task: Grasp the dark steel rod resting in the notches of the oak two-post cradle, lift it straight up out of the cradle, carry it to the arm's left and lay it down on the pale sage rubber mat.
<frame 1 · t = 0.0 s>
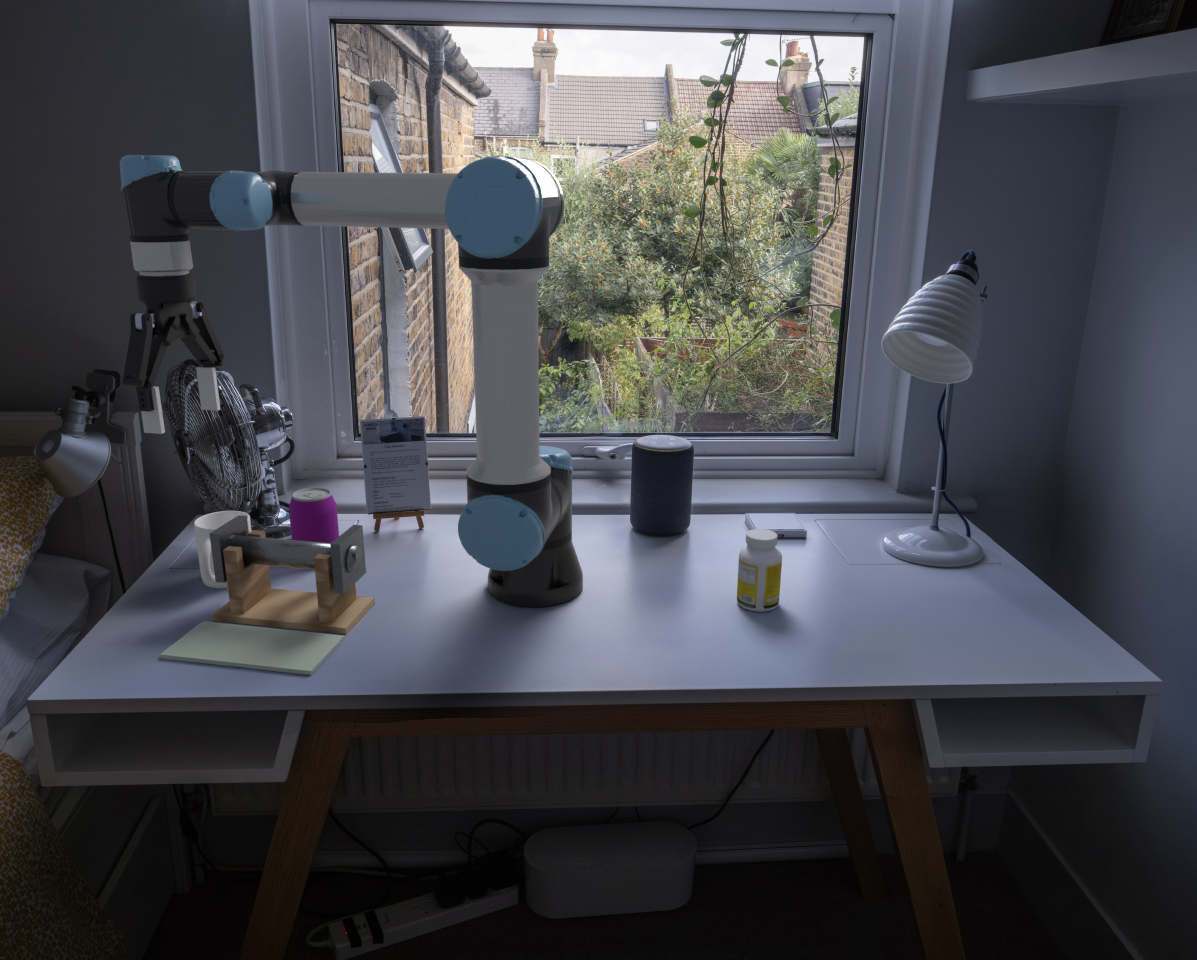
hand: (184, 420, 135), 28 cm above the table, fingers open, 13 cm apart
beverage can: (317, 561, 158), on the table
cradle: (295, 612, 139), on the table
rod: (291, 577, 137), point 6 cm above the table, touching cradle
mug: (224, 585, 148), on the table
mat: (254, 648, 128), on the table
pill bottle: (757, 605, 143), on the table
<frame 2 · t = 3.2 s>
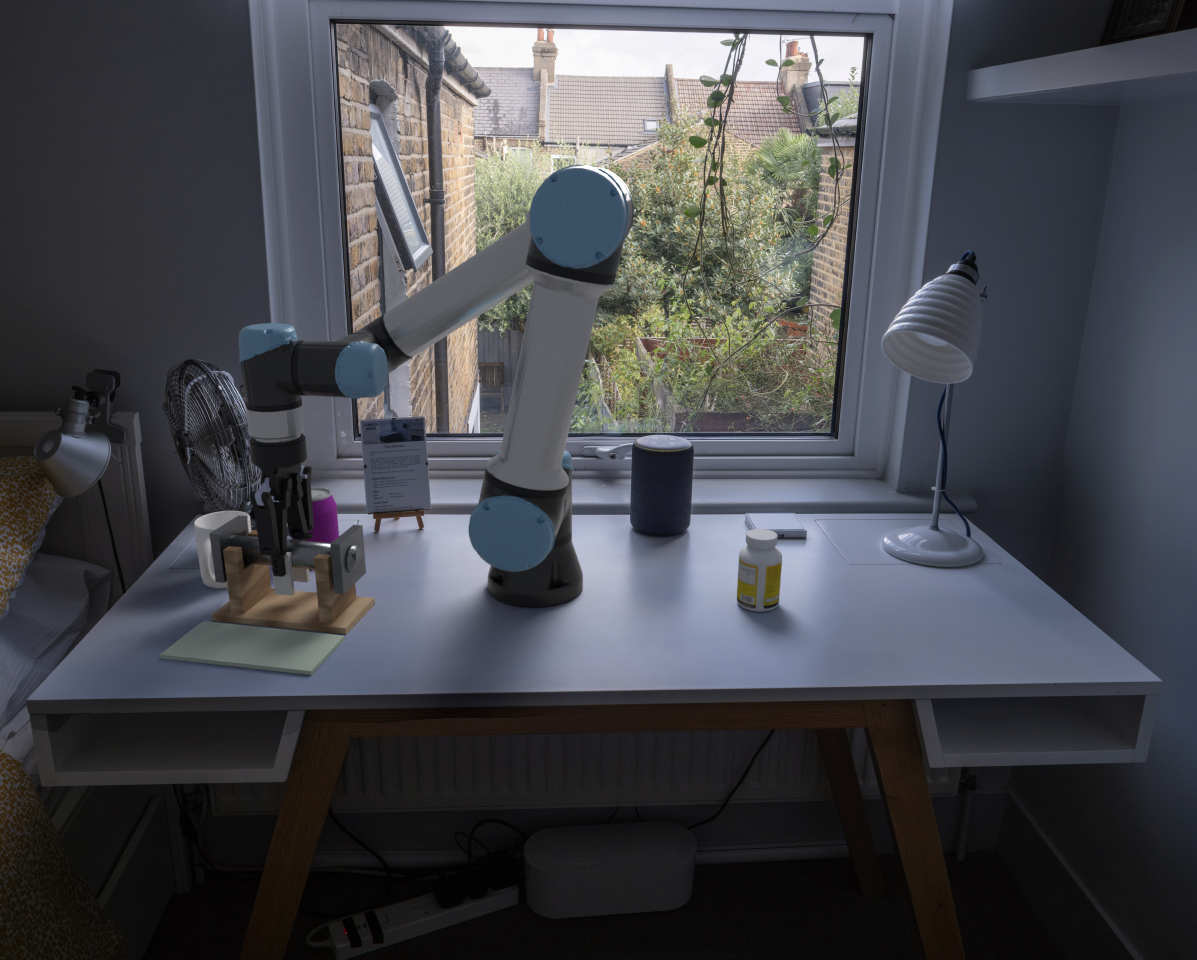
hand: (292, 586, 138), 4 cm above the table, fingers closed on rod, 4 cm apart
rod: (291, 577, 137), point 6 cm above the table, touching cradle, gripper
everything else where it was.
when the fingers open (1 cm above the table, at t = 8.2 s): rod drops 2 cm, resting on mat.
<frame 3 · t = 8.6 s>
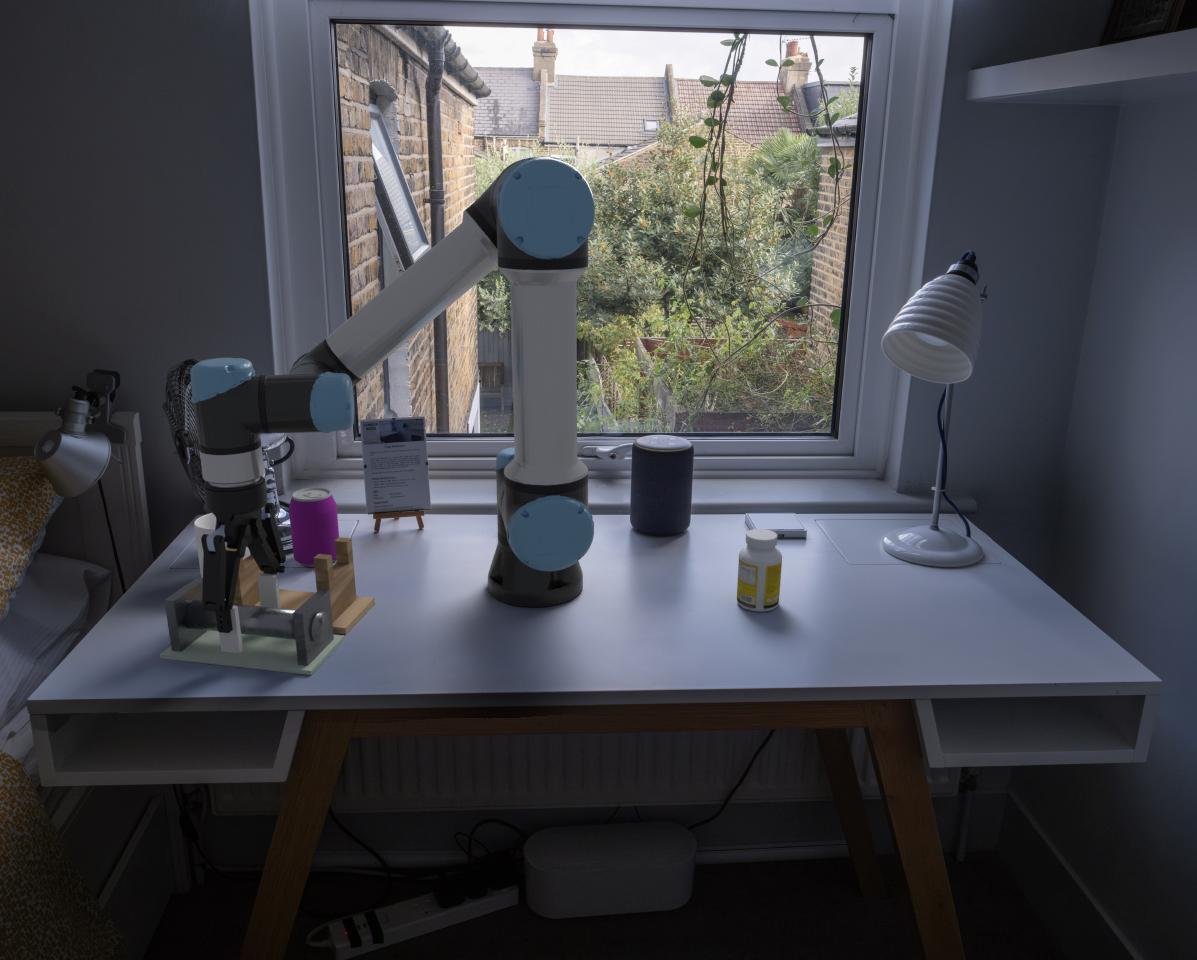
hand: (252, 633, 127), 2 cm above the table, fingers open, 9 cm apart
rod: (254, 644, 128), point 1 cm above the table, touching mat
everything else where it was.
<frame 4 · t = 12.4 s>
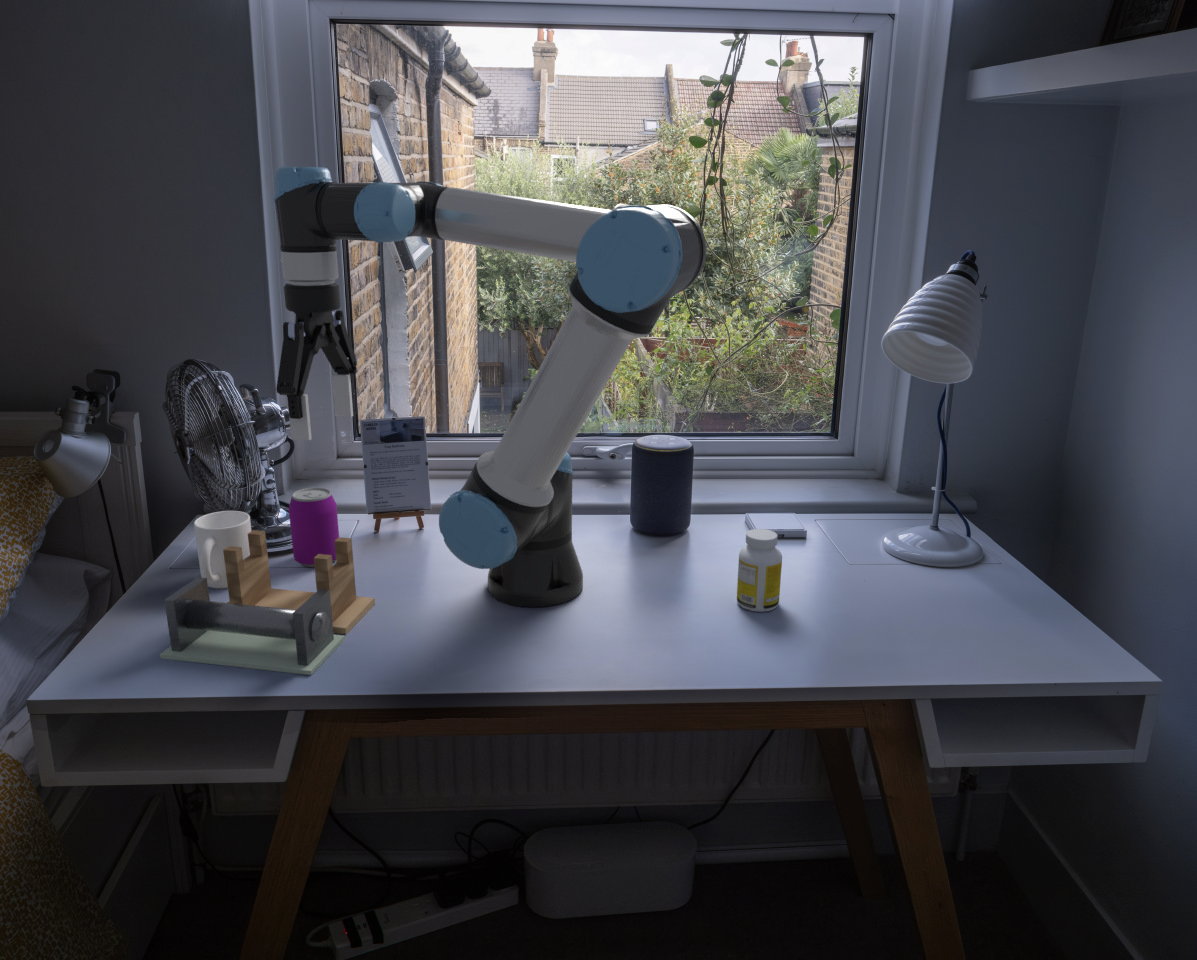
hand: (323, 427, 137), 27 cm above the table, fingers open, 13 cm apart
nothing on the table moved.
at the end: rod inside the target area on the mat (0.0 cm from its centre), point 0.6 cm above the mat's base; rod touching mat; the gripper is holding nothing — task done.
